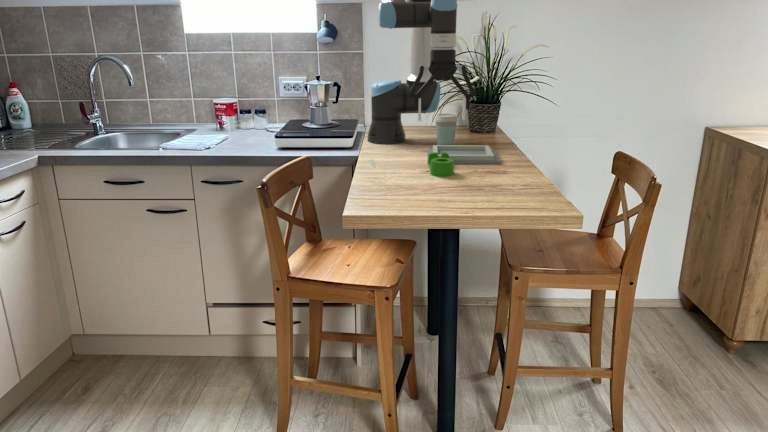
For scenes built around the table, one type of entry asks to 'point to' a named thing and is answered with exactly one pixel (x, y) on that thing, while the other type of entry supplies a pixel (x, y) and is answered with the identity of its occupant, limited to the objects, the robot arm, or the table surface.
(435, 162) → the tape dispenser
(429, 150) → the slot board
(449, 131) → the coffee cup
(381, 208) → the table surface
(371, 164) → the butter knife
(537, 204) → the table surface
